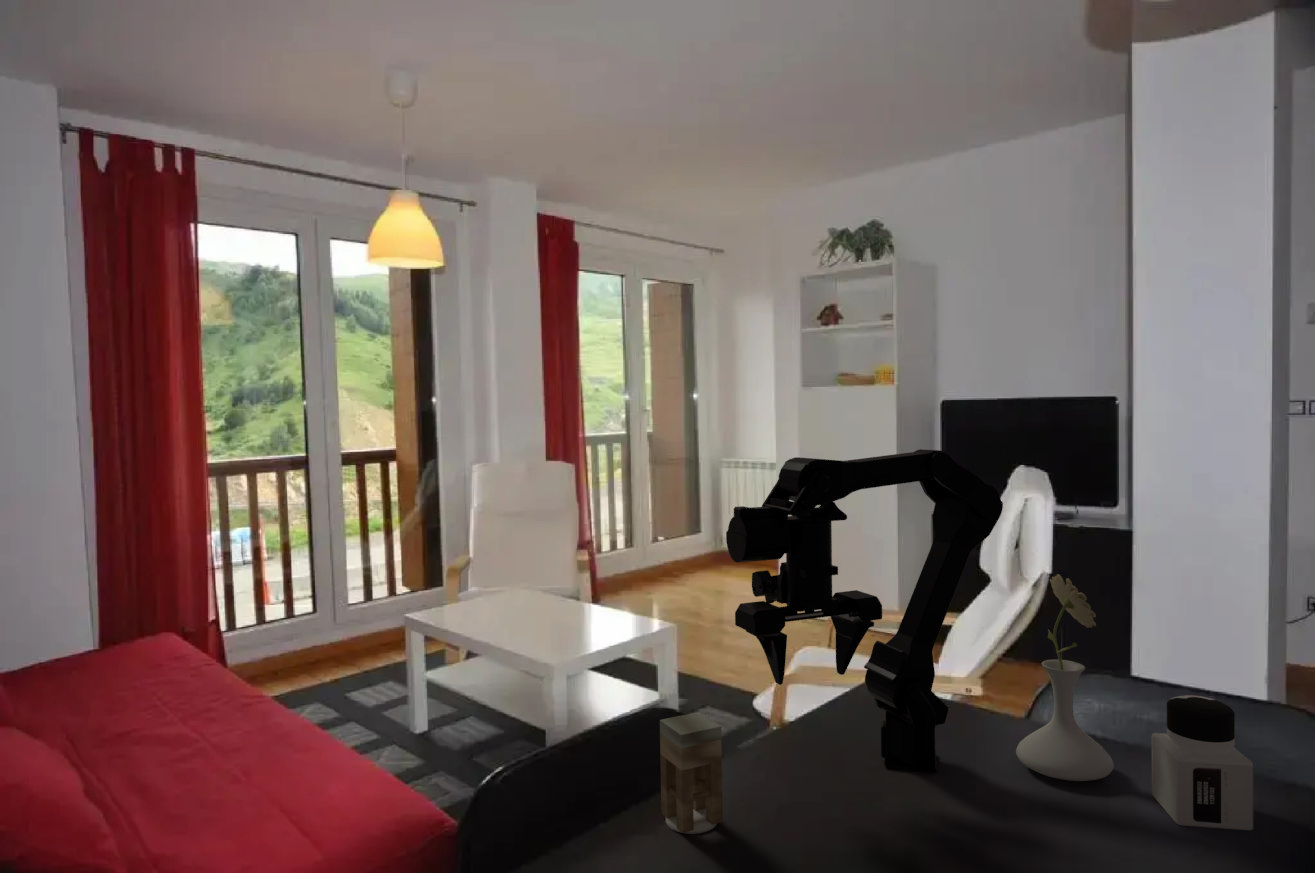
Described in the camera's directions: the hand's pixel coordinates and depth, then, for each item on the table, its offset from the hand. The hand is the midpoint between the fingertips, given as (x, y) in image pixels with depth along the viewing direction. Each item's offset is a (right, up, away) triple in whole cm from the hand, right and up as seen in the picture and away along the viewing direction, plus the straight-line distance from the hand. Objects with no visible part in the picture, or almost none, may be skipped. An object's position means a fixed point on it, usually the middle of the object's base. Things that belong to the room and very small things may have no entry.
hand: (810, 678), depth 106 cm
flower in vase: (+33, -13, +2) cm, 36 cm away
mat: (-16, -14, -10) cm, 23 cm away
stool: (-16, -13, -10) cm, 23 cm away
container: (+43, -13, -10) cm, 46 cm away
